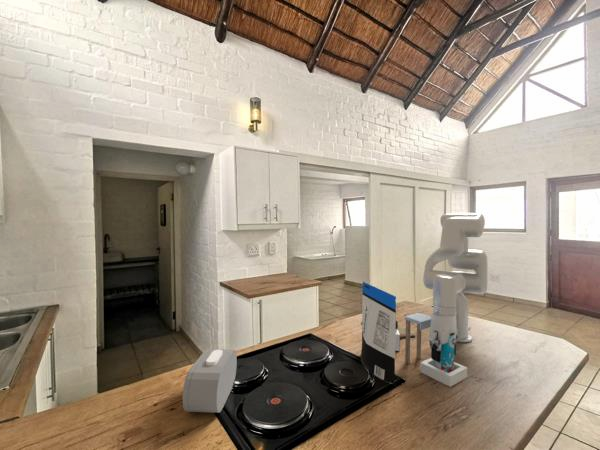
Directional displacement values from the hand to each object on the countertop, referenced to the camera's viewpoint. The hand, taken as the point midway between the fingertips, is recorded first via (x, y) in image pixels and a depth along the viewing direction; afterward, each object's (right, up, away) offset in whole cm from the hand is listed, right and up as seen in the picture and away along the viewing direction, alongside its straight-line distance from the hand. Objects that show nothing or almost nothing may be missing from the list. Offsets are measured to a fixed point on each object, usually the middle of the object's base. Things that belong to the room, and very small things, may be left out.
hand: (443, 356), depth 100 cm
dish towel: (-7, -7, +42) cm, 43 cm away
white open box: (-2, -6, +2) cm, 7 cm away
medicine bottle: (-12, -6, +22) cm, 26 cm away
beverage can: (+1, -6, +1) cm, 6 cm away
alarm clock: (-78, -6, -16) cm, 80 cm away
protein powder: (-23, -6, +4) cm, 24 cm away
